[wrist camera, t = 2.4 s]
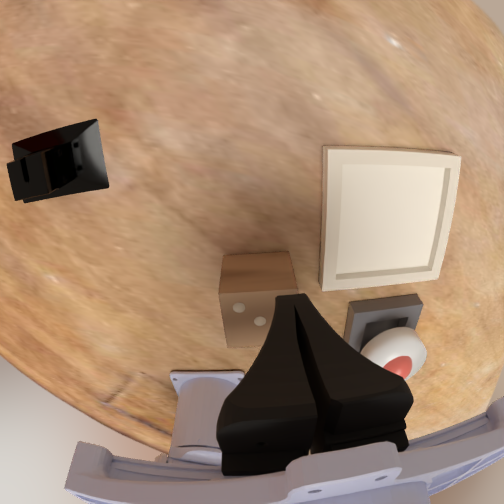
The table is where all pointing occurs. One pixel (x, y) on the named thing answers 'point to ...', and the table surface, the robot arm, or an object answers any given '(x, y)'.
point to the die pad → (385, 215)
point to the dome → (397, 351)
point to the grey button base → (380, 317)
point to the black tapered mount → (58, 163)
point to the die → (253, 294)
